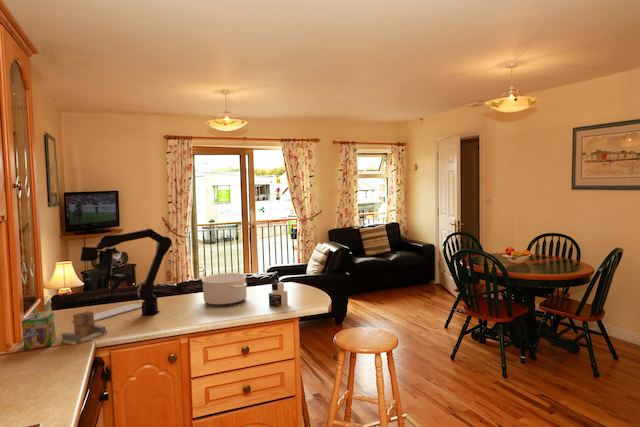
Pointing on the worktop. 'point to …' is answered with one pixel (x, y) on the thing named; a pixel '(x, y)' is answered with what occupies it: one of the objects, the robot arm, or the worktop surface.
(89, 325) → the brown block
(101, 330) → the holder
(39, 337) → the chalk box
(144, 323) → the worktop surface
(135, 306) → the baseboard
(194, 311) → the worktop surface
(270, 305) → the medicine bottle
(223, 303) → the pot
